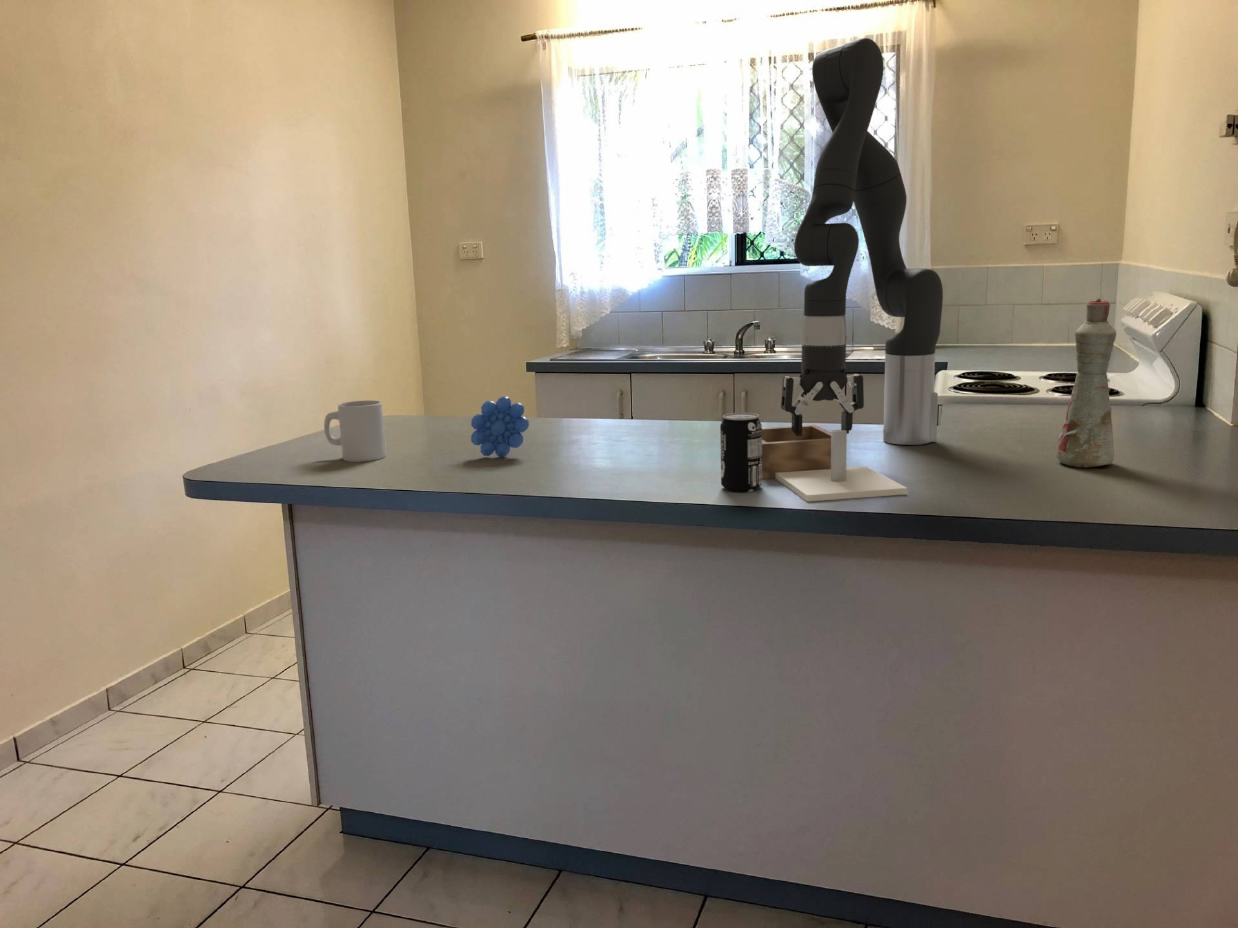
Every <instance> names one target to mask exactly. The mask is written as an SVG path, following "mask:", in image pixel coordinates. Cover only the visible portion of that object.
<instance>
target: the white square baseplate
mask: <svg viewBox="0 0 1238 928" xmlns="http://www.w3.org/2000/svg"><path fill="white" fill-rule="evenodd" d="M830 432H831V469H823V470H808V471H794V472H779V473H775V478H774V479H775V480H777V481H778V482H780V483H781V484H782V485H784V486H785V487H786V488H788V489H789V490H790V491H792V492H793V493H794V494H796V495H797V496H799V497H800V498H801V499H803V500H804V501H806V502H819V501H835V500H847V499H859V498H873V497H875V498H876V497H887V496H900V495H901V496H903V495H907V494H908V487H906V486H904V485H902V484H900V483H898V482H897V481H894V480H893V479H891V478H889V477H887V476H885V475H883V474H881V473H879V472H877V471H876V470H874V469H872V468H870V467H868V466H855V467H847V444H848V443H847V442H848V441H847V438H848V434H847V431H845V430H841V429H833V430H831V431H830Z"/></svg>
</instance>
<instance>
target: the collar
mask: <svg viewBox="0 0 1238 928" xmlns="http://www.w3.org/2000/svg"><path fill="white" fill-rule="evenodd" d="M791 427H792V425H790V426H775V427H762V480H767V479H775V473H779V472H794V471H808V470H823V469H831V431H830V430H827V429H826V428H823V427H821V426H819V425H817V424H810V425H809V424H808V425H807V424H806V425H802V436H797V435H795V433H794V432H793V431H792V429H791Z"/></svg>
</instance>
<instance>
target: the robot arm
mask: <svg viewBox="0 0 1238 928" xmlns="http://www.w3.org/2000/svg"><path fill="white" fill-rule="evenodd" d="M811 68H812V69H811V70H812V71H811V72H812V74H811V75H812V81H813V86H814V89H815V91H816V96H817V98H818V100H819V103H820V106H821V109H822V111H823V113H824V116H825V117H826V118H825V119H826V120H827V123H828V125H829V128H830V130H831V132H832V134H831V135H830V137H829V138H828V140H827V142H826V144H825V145H824V147H823V149H822V150H821V153H820V154H819V157H818V159H817V160H818V161H817V163H816V168H815V172H814V179H813V180H814V181H813V188H812V194H811V200H810V201H809V205H808V207H807V209H806V211H805V215H804V217H803V218H802V221H801V223H800V225H799V228H798V229H797V232H796V235H795V239H794V246H793V247H794V248H793V249H794V254H795V257H796V259H797V261H798V262H799V264H801V265H803V266H805V267H830V266H831V267H832V266H833V267H832V270H831V271H830V274H829V275H828V276H827V277H825V278H821V279H817V280H813V281H809V282H808V283H806V285H805V288H804V295H803V296H804V297H803V298H804V301H803V303H804V304H803V306H804V307H803V322H802V328H801V364H800V365H801V371H800V372H801V373H800V376H799V377H797V376H795V377H794V376H792V377H791V376H788V375H785V376H783V378H782V384H781V385H782V387H781V399H780V400H781V401H780V403H781V404H780V408H781V410H783V411H785V412H788V413H790V414H791V426H792V427H791V429H792V431H793V432H794V433H795V435H797V436H802V426H803V415H802V413H803V411H804V410H805V409H806V407H807V406H809V405H810V404H811V402H812V401H815V402H821V401H824V400H826V401H831V402H832V401H833V400H835V401H836V403H837V404H838V405H839V406H840V409H842V411H841V416H840V417H841V418H840V419H841V420H840V430H845V431H847V435H848V434H849V433H850V431H852V429H853V418H854V416H853V415H854V412H855V411H857V410H862V409H863V408H864V407H865V406H864V405H865V403H864V402H865V399H864V395H865V394H864V376H863V375H861V374H858V373H853V374H852V375H847V373H846V362H847V361H846V360H847V354H846V353H847V341H848V336H847V335H848V334H847V321H846V319H847V318H846V310H847V309H846V308H847V290H848V284H849V280H850V277H851V276H850V275H851V273H852V269H853V265H854V263H855V259H856V257H857V254H858V249H859V242H860V239H859V235H858V232H857V230H856V228H855V227H854V226H853V225H852V223H851V224H850V223H848V222H836V223H835V222H834V223H827V222H828V221H829V220H831V219H832V218H833V219H834V218H836V217H838V216H842V215H845V214H846V213H848V212H850V211H851V210H852V208H853V205H854V207H855V210H856V212H857V213H856V214H857V215H858V219H859V223H860V227H861V230H862V233H863V238H864V241H865V245H866V249H867V252H868V257H869V261H870V262H869V263H870V267H871V273H872V274H871V275H872V279H873V284H874V288H875V290H874V291H875V295H876V298H877V301H878V303H879V306H880V307H881V309H882V311H883V312H884V313H885V314H886V315H888V316H889V317H890V316H891V317H893V318H894V317H895V318H904V320H903V326H902V329H901V330H900V331H899V332H898V333H897V334H895V335H893V336H890V337H889V338H887V339H886V342H885V351H884V353H885V354H884V356H885V357H884V393H883V394H884V396H883V399H884V402H883V403H884V404H883V430H882V431H883V432H882V433H883V436H882V437H883V438H882V439H883V442H885V443H887V444H893V445H901V446H902V445H904V446H905V445H906V446H907V445H909V446H911V445H912V446H915V445H917V446H918V445H925V444H929V443H930V444H931V443H935V442H937V441H938V440H937V435H938V412H939V411H938V410H939V406H938V405H939V404H938V403H939V402H938V401H939V394H938V392H936V391H935V370H936V369H935V368H936V367H935V364H936V362H935V361H936V345H937V343H938V341H939V338H940V333H941V323H942V322H941V321H942V315H943V314H942V312H943V304H944V303H943V300H944V299H943V298H944V290H943V289H944V287H943V283H942V280H941V278H940V275H939V274H938V273H937V272H936V271H934V270H933V269H931V268H917V267H916V268H907V266H906V264H905V261H904V258H903V255H902V251H901V247H900V246H901V245H900V233H901V229H902V225H903V222H904V217H905V213H906V209H907V199H908V198H907V197H908V196H907V191H906V188H905V183H904V181H903V176H902V173H901V169H900V166H899V164H898V161H897V159H896V158H895V157H894V155H892V153H891V152H890V151H889V150H888V148H886V146H884V145H883V144H882V143H881V142H880V141H879V140H878V139H877V138H876V137H874V136H873V135H872V134H871V133H870V132H869V131H868V130H869V126H870V124H871V121H872V118H873V114H874V110H875V107H876V104H877V100H878V97H879V94H880V91H881V87H882V83H883V77H884V68H885V66H884V58H883V54H882V51H881V49H880V47H879V46H878V44H877V43H876V42H875V41H874V40H873V39H871V38H870V37H869V38H868V37H861V38H857V39H853V40H851V41H850V40H849V41H848V42H845V43H842V44H840V45H837V46H832V47H830V48H827V49H825V50H823V51H820V52H818V53H817V54H816V56H814V59H813V62H812V67H811ZM847 383H848V386H849V387H850V388H851V399H852V400H851V402H850V401H849V398H848V397H847V395H846V394H845V393H844V391H843V389H844V388H845V386H846V385H847ZM798 385H799V386H800V387H801V388H802V391H801V392H800V394H799V395H798V397H797V398H796V401H795V402H794V403H793V395H794V390H796V389H797V386H798Z"/></svg>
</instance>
